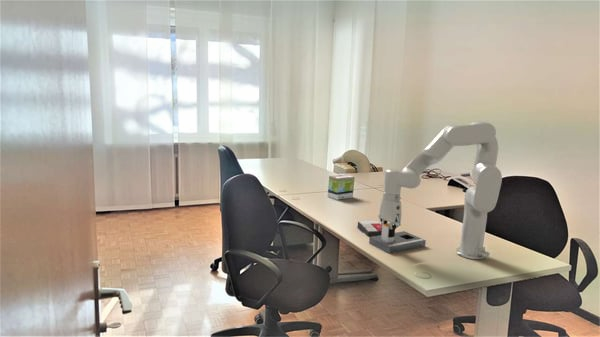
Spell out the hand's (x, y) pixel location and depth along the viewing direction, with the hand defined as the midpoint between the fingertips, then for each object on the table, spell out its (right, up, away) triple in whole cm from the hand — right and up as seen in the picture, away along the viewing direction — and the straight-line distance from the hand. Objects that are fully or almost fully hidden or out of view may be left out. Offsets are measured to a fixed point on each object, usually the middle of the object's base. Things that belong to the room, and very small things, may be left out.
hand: (387, 235), depth 193 cm
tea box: (-13, +11, +92) cm, 93 cm away
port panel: (+5, -6, +4) cm, 9 cm away
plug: (0, -3, +1) cm, 3 cm away
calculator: (-3, -3, +23) cm, 23 cm away
